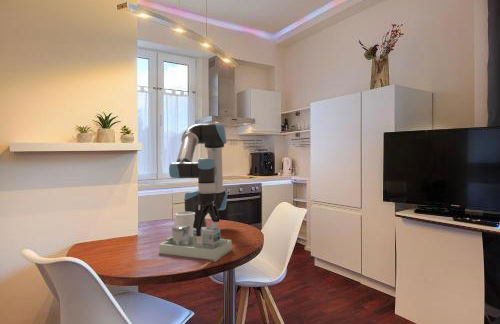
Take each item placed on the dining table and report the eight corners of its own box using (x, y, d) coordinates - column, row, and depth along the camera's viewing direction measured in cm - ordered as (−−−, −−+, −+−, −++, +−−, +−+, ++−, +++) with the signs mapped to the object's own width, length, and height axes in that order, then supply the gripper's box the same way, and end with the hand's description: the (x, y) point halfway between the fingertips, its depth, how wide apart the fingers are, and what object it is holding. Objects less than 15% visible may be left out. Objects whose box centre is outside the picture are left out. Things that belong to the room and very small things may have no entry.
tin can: (178, 245, 150) (178, 225, 150) (193, 247, 148) (193, 226, 147) (168, 250, 143) (168, 228, 143) (183, 252, 140) (183, 230, 140)
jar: (191, 245, 155) (190, 215, 155) (171, 244, 157) (171, 214, 157) (198, 239, 165) (198, 211, 165) (180, 238, 167) (180, 211, 167)
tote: (180, 245, 155) (180, 233, 155) (232, 250, 145) (231, 237, 145) (158, 255, 140) (158, 241, 139) (215, 262, 129) (214, 247, 129)
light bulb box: (221, 251, 141) (220, 227, 140) (214, 256, 134) (213, 231, 134) (200, 249, 145) (200, 226, 144) (192, 253, 138) (192, 229, 138)
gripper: (212, 189, 153) (213, 232, 153) (184, 195, 129) (184, 246, 130) (226, 189, 150) (226, 233, 150) (199, 196, 127) (200, 247, 127)
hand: (207, 239), depth 140 cm, fingers open, 13 cm apart
